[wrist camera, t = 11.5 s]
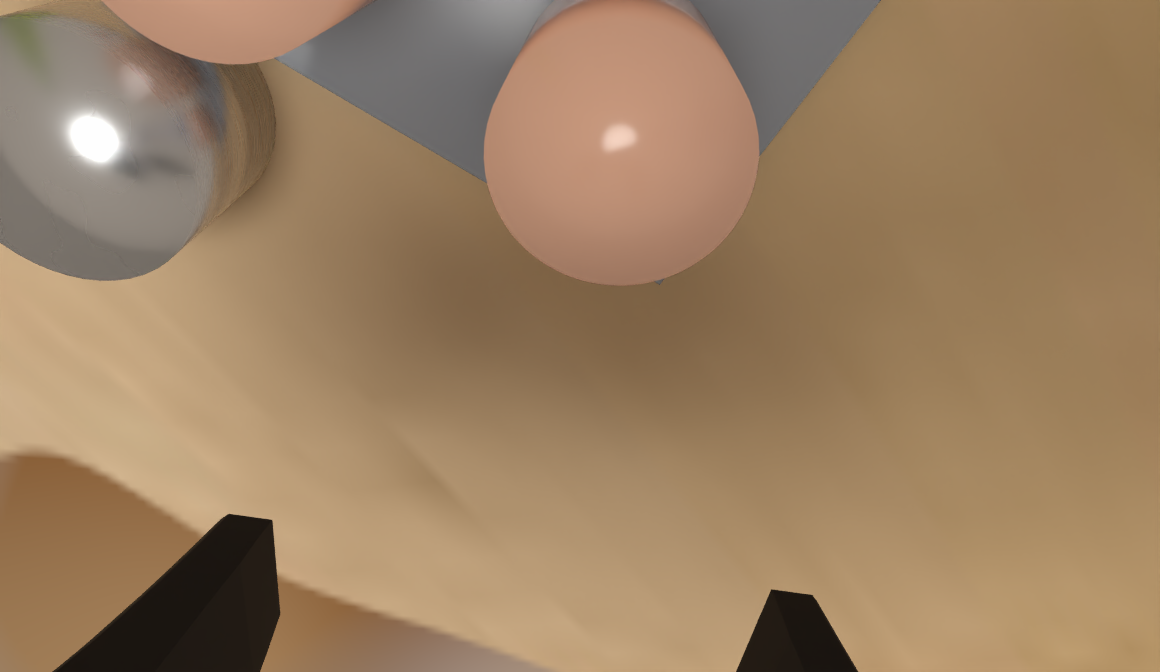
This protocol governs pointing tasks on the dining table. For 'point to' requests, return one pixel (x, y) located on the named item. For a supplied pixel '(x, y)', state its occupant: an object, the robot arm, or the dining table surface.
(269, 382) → the dining table surface
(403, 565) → the dining table surface
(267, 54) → the peach domed cylinder
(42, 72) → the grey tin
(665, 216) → the salmon capsule cylinder
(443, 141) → the slate board
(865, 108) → the dining table surface
